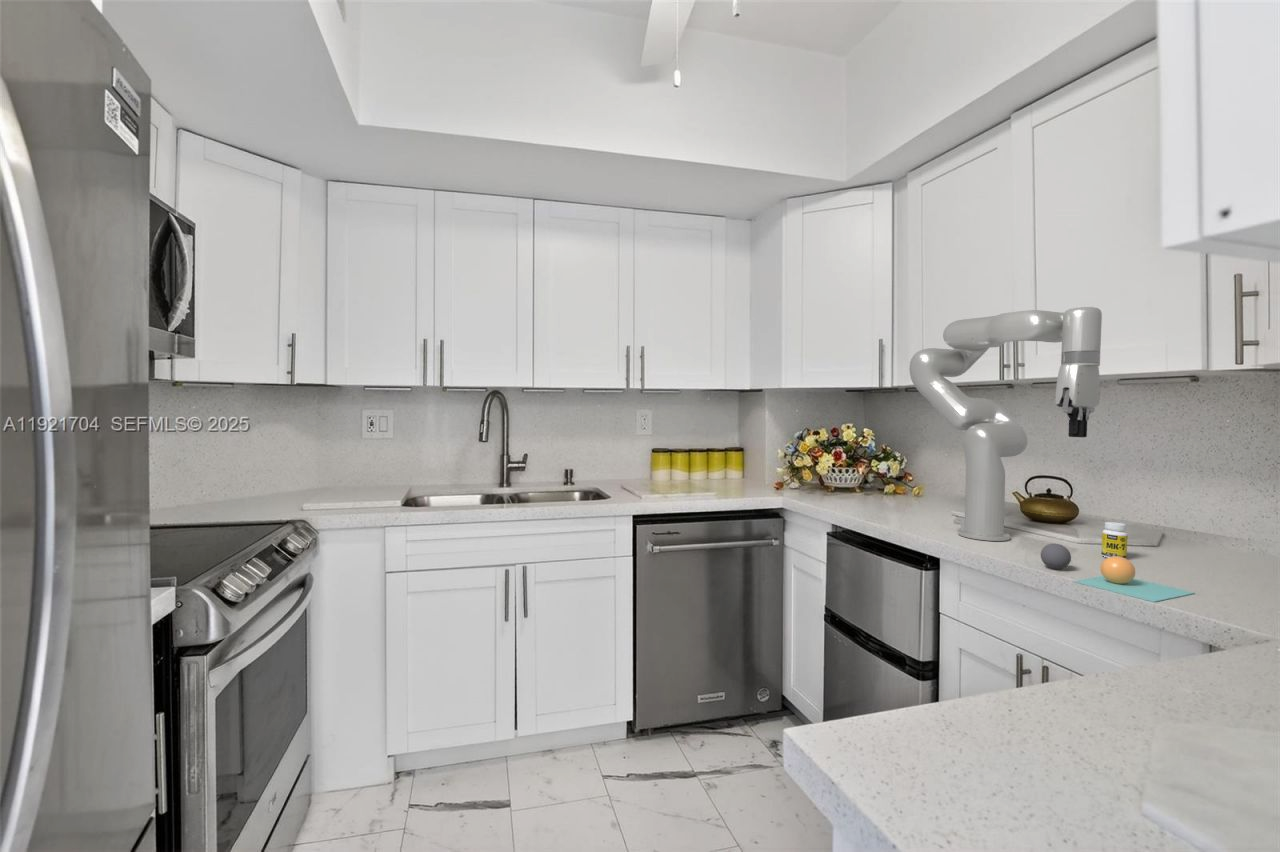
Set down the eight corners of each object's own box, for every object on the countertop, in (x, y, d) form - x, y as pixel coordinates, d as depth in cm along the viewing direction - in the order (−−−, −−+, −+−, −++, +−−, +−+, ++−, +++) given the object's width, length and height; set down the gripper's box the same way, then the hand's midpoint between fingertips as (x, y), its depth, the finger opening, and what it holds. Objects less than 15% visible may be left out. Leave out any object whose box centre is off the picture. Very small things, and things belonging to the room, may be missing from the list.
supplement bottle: (1103, 558, 144) (1104, 523, 144) (1099, 554, 148) (1100, 520, 148) (1128, 561, 142) (1130, 526, 141) (1123, 557, 146) (1125, 522, 145)
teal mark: (1074, 581, 124) (1074, 580, 124) (1114, 574, 130) (1114, 573, 130) (1154, 602, 111) (1154, 601, 111) (1195, 593, 117) (1195, 592, 117)
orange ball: (1111, 552, 122) (1132, 577, 118) (1127, 549, 124) (1148, 574, 120) (1088, 566, 125) (1108, 590, 122) (1104, 563, 128) (1124, 587, 124)
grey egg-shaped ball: (1056, 542, 131) (1063, 568, 130) (1072, 541, 133) (1080, 566, 132) (1031, 546, 136) (1038, 571, 135) (1047, 544, 138) (1055, 569, 137)
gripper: (1082, 362, 150) (1079, 436, 150) (1044, 359, 144) (1041, 436, 144) (1116, 360, 143) (1113, 437, 143) (1077, 357, 137) (1074, 438, 137)
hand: (1077, 436), depth 144 cm, fingers closed
